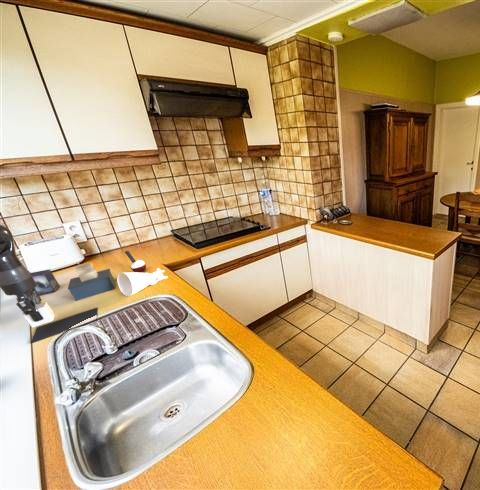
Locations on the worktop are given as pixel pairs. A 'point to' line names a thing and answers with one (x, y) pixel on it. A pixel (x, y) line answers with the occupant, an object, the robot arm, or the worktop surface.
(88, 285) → the storage box
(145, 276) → the rocket engine
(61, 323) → the rubber mat
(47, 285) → the small box
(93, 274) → the cream box
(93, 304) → the worktop surface
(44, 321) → the white box
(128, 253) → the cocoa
